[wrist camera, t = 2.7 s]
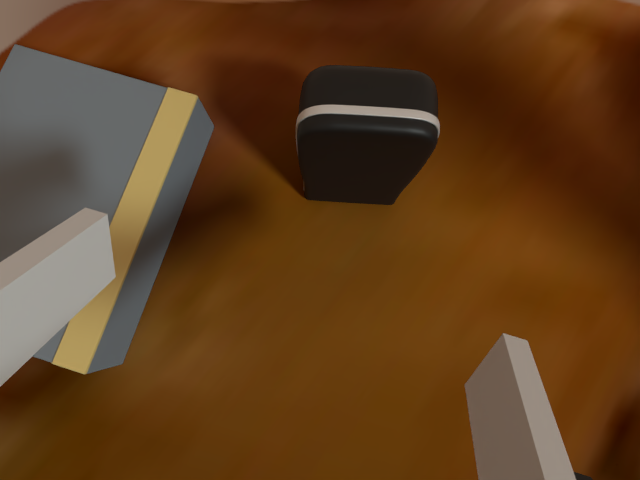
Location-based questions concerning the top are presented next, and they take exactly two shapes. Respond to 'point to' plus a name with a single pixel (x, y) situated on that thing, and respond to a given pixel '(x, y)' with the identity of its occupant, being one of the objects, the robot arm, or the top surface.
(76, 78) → the dock
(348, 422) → the top surface
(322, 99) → the battery charger
